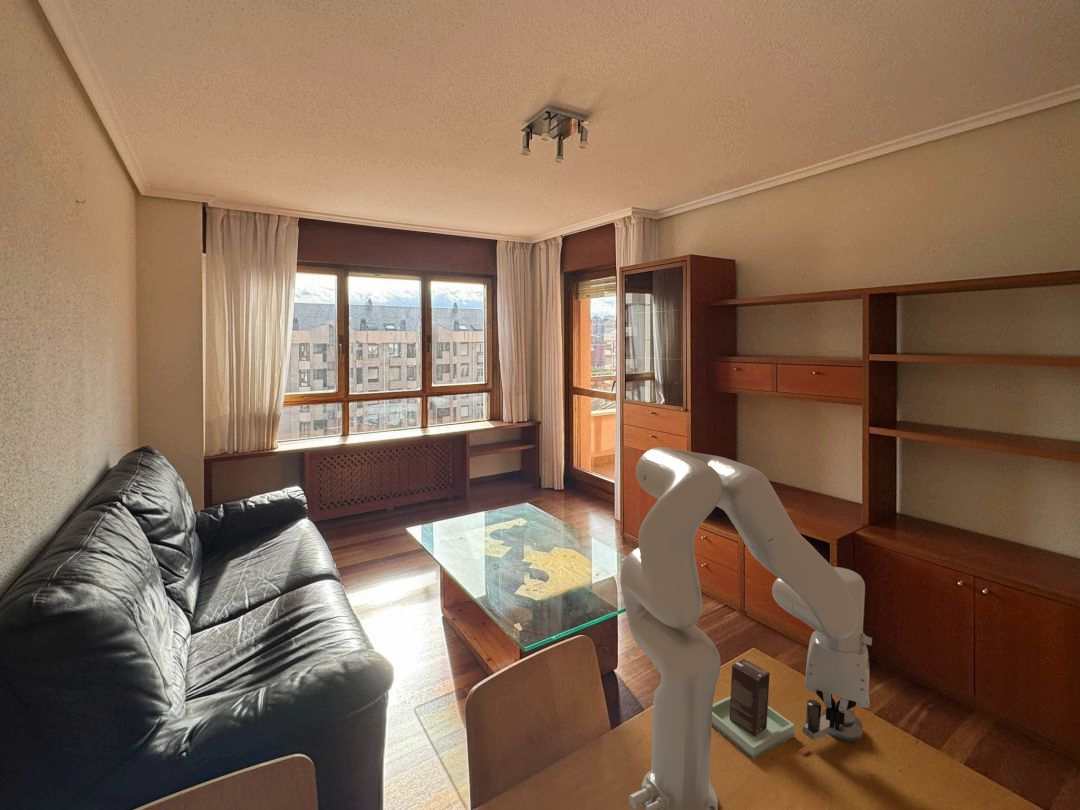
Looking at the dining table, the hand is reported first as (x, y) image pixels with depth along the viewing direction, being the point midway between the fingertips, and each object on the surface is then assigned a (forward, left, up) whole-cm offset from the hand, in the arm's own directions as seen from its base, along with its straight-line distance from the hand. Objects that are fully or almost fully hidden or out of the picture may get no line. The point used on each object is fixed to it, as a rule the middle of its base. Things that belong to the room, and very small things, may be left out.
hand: (834, 724), depth 99 cm
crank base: (+2, +2, -5) cm, 6 cm away
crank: (+3, +3, -3) cm, 5 cm away
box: (-9, +12, -5) cm, 16 cm away
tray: (-9, +12, -5) cm, 16 cm away
